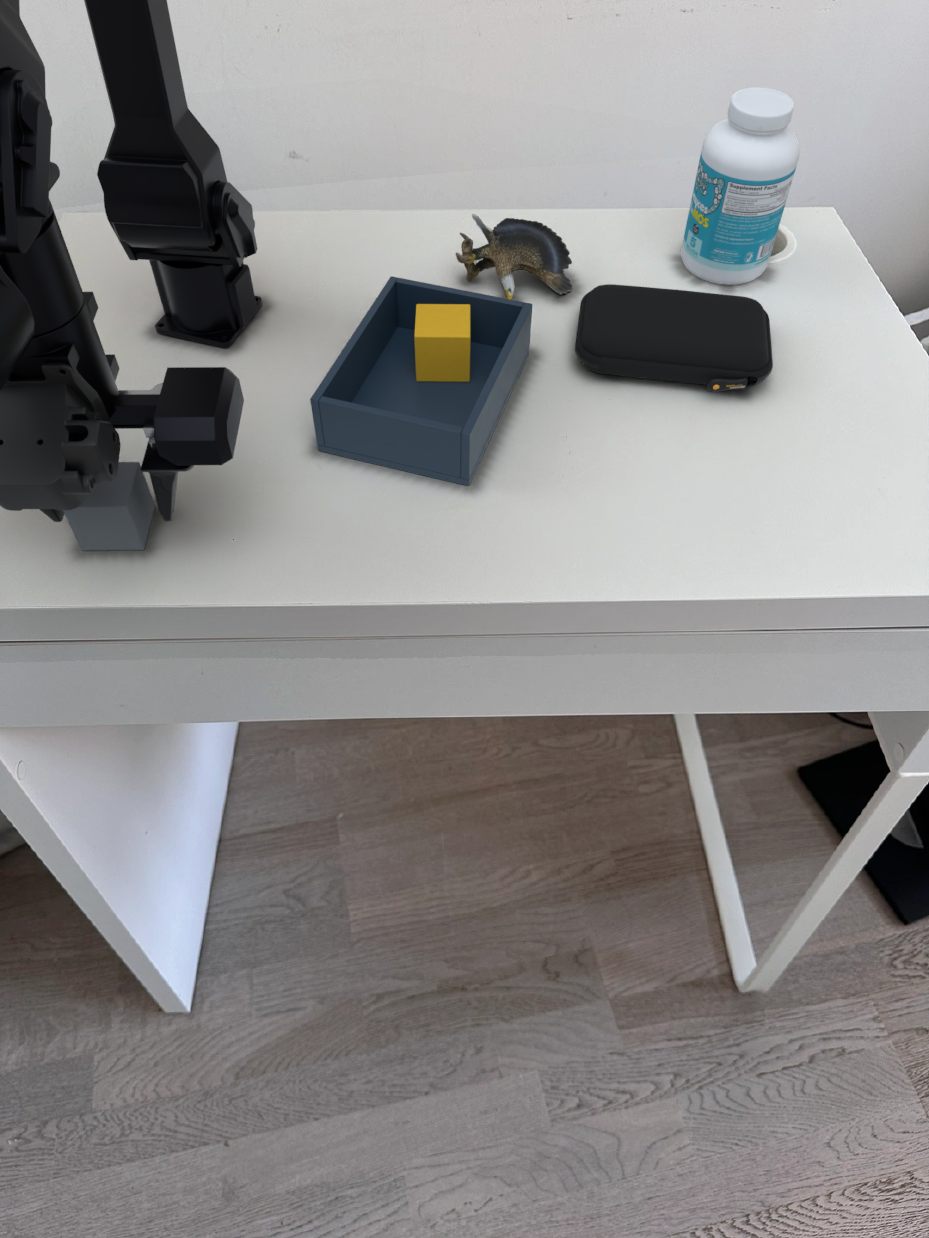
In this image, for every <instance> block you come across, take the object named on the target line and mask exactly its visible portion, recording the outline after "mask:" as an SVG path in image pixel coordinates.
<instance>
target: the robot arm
mask: <svg viewBox="0 0 929 1238" xmlns="http://www.w3.org/2000/svg"><path fill="white" fill-rule="evenodd" d="M83 1H84V6H85V10H86V14H87V17H88V21H89V26H90V30H91V33H92V37H93V41H94V45H95V49H96V54H97V57H98V62H99V66H100V70H101V73H102V77H103V82H104V85H105V90H106V93H107V98H108V101H109V105H110V109H111V113H112V117H113V122H114V127H113V130H112V134H111V135H110V138H109V142H108V145H107V148H106V151H105V155H104V157H103V159H102V160H100V161H99V164H98V168H97V172H96V175H97V178H98V181H99V185H100V186H101V189H102V193H103V206H104V212H105V215H106V219H107V221H108V223H109V225H110V227H111V229H112V230H113V233H114V234H115V236H116V238H117V239H118V242H119V243H120V245H121V247H122V249H123V250H124V253H125V254H126V256H127V258H128V260H130V261H139V260H141V261H149V264H150V268H151V272H152V275H153V278H154V281H155V286H156V288H157V293H158V296H159V299H160V303H161V306H162V311H163V315H162V316H161V318H159V320H158V321H157V322H156V323H155V324H154V329H155V331H156V333H158V334H161V335H165V336H170V337H174V338H179V339H184V340H188V341H194V342H197V343H201V344H205V345H206V344H207V345H211V346H216V347H220V348H228V347H231V345H232V344H233V343H234V342H235V340H236V339H237V338H238V337H239V335H241V333H242V332H243V330H244V329H245V328H246V326H247V325H248V323H249V322H250V321H251V320H252V319H253V317H254V316H255V315H256V313H257V312H258V311H259V309H260V308H261V307H262V306H263V300H262V297H261V296H259V295H255V290H254V284H253V280H252V274H251V270H250V269H251V268H250V266H249V265H248V264H246V263H244V260H245V259H247V258H248V257H250V256H253V255H255V254H257V251H258V244H257V237H256V234H255V228H256V221H255V219H254V212H253V211H254V209H253V205H252V204H251V203H250V201H249V200H248V199H247V198H245V197H244V196H243V194H242V193H240V191H239V190H238V189H237V188H236V187H235V186H234V185H233V184H232V183H231V182H229V181H228V178H227V174H226V170H225V166H224V161H223V156H222V152H221V149H220V147H219V145H218V144H217V142H216V141H215V140H214V139H213V138H212V136H211V135H210V134H209V133H208V131H207V130H206V129H205V128H204V126H203V125H202V124H201V123H200V121H199V120H198V119H197V118H196V117H195V115H194V113H192V111H191V110H190V109H189V106H188V101H187V99H186V92H185V87H184V82H183V78H182V77H183V76H182V73H181V72H182V71H181V67H180V61H179V56H178V51H177V47H176V41H175V36H174V31H173V25H172V21H171V15H170V10H169V4H168V0H83ZM20 7H21V6H20V0H0V508H2V509H4V510H5V511H6V510H7V511H10V512H20V511H22V510H39V511H41V512H42V514H44V515H46V516H47V517H48V518H49V519H50V520H51V521H53V522H54V523H61V522H63V519H64V516H65V514H64V511H63V510H72V509H75V508H77V507H79V506H80V505H81V504H82V503H83V502H84V501H85V499H86V497H87V494H93V493H94V492H95V488H96V485H97V484H99V483H102V482H113V481H114V480H115V479H116V478H117V473H118V463H119V462H120V453H121V438H120V434H119V432H118V431H117V430H118V429H119V430H122V429H124V430H125V429H126V430H127V429H128V430H129V429H130V430H131V429H139V430H140V429H143V432H144V435H145V438H147V439H148V440H147V444H146V448H145V452H144V454H143V459H142V462H141V471H142V472H143V473H148V474H149V478H150V482H151V485H152V489H153V493H154V497H155V501H156V504H157V508H158V510H159V513H160V514H161V516H162V519H163V520H164V521H165V522H172V520H173V514H174V510H175V503H176V496H177V495H176V494H177V488H178V487H177V486H178V480H179V479H178V478H179V473H183V472H188V471H190V470H192V469H194V467H195V466H223V465H224V464H226V463H228V462H229V461H232V460H233V459H234V454H235V449H236V444H237V438H238V434H239V429H240V425H241V424H240V423H241V419H242V413H243V408H244V403H245V399H244V394H243V389H242V386H241V382H240V381H241V380H240V378H238V376H237V375H236V374H235V373H234V372H233V371H232V370H231V369H229V368H227V367H225V366H204V367H202V366H200V367H199V366H197V367H195V366H194V367H192V366H190V367H188V366H187V367H186V366H185V367H184V366H183V367H182V366H181V367H171V366H170V367H166V371H165V374H164V378H163V382H160V383H157V384H156V385H154V386H153V387H152V388H151V389H122V390H121V389H118V386H117V383H116V382H117V377H118V375H119V372H120V366H119V362H118V360H117V357H116V354H106V351H105V349H104V347H103V344H102V341H101V338H100V335H99V333H98V330H97V327H96V323H95V322H94V320H95V318H96V315H97V313H98V310H99V306H98V302H97V299H96V297H95V294H94V291H83V288H82V286H81V283H80V280H79V277H78V274H77V271H76V269H75V265H74V263H73V260H72V258H71V257H72V256H71V254H70V251H69V249H68V246H67V243H66V241H65V237H64V235H63V232H62V229H61V227H60V224H59V222H58V221H59V220H58V218H57V215H56V213H55V210H54V208H53V203H52V201H51V200H50V192H51V190H52V188H53V187H54V185H55V184H56V183H57V182H58V180H59V179H60V175H61V170H60V168H59V166H58V164H57V163H55V162H53V161H51V149H52V148H51V147H52V127H53V117H52V115H51V112H50V109H49V106H48V102H47V98H46V97H47V96H46V95H47V94H46V68H45V65H44V61H43V60H42V58H41V56H40V54H39V51H38V50H37V48H36V46H35V44H34V42H33V40H32V37H31V36H30V34H29V32H28V30H27V28H26V26H25V25H24V22H23V21H22V19H21V13H20V12H21V11H20V9H21V8H20Z"/></svg>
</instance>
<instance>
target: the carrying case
mask: <svg viewBox="0 0 929 1238" xmlns="http://www.w3.org/2000/svg"><path fill="white" fill-rule="evenodd" d="M575 334H576V335H575V343H574V353H575V356H576V358H577V359H578V361H579V362H580V363H581V364H582V365H583V366H584V367H585V368H586V369H587V370H588V371H591V372H594V373H598V374H600V375H611V376H620V377H628V378H637V379H647V380H656V381H666V382H676V383H684V384H685V383H686V384H695V385H705V386H706V389H707V391H708V392H712V393H717V392H723V391H731V390H745V389H746V388H750V387H753V386H755V385H757V384H760V383H762V382H763V381H765V380H766V379H767V378H768V377H769V376H770V374H771V373H772V371H773V368H774V360H773V348H772V335H771V324H770V317H769V314H768V312H767V311H766V310H765V309H764V307H763V305H762V304H761V303H760V302H759V301H758V300H757V299H754V298H752V297H748V296H741V295H734V294H733V295H732V294H722V293H712V292H703V291H694V290H693V291H692V290H682V289H671V288H661V287H648V286H637V285H625V284H612V283H611V284H610V283H607V284H600V285H597V286H595V287H594V288H592V289H591V290H590V291H588V292H587V293H585V295H584V296H583V297H582V299H581V300H580V305H579V312H578V319H577V327H576V333H575Z"/></svg>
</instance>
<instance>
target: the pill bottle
mask: <svg viewBox="0 0 929 1238" xmlns="http://www.w3.org/2000/svg"><path fill="white" fill-rule="evenodd" d="M794 107H795V103H794V100H793V99H792V97H791V96H789V95H788V94H787V93H785V92H783V91H781V90H778V89H773V88H771V87H763V86H751V87H745V88H741V89H738V90H737V91H736V92H733V94H732V96H731V97H730V100H729V105H728V109H727V118H724V119H722V120H720V121H718V122H717V123H715V124H714V125H713V126H712V127H710V129H709V130H708V131H707V132H706V134H705V136H704V139H703V141H702V146H701V150H700V155H699V159H698V165H697V170H696V175H695V180H694V186H693V189H692V195H691V199H690V204H689V210H688V213H687V220H686V224H685V229H684V234H683V238H682V244H681V249H680V250H681V251H680V255H681V260H682V263H683V265H684V266H685V268H686V269H687V270H688V271H689V272H690V273H691V274H693V275H694V276H696V278H697V277H698V278H699V279H701V280H704V281H706V282H708V283H709V282H710V283H713V284H717V285H726V286H727V285H728V286H730V285H732V286H733V285H740V284H745V283H749V282H751V281H754V280H756V279H757V278H759V277H760V276H761V275H762V274H763V273H764V272H765V270H766V269H767V267H768V265H769V262H770V258H771V255H772V252H773V248H774V245H775V241H776V238H777V234H778V231H779V228H780V224H781V221H782V218H783V214H784V211H785V207H786V204H787V200H788V196H789V194H790V190H791V187H792V186H791V185H792V183H793V181H794V177H795V173H796V170H797V166H798V162H799V159H800V155H801V147H800V145H801V144H800V142H799V139H798V137H797V135H796V133H795V132H794V131H793V130H792V128H790V127H789V125H790V123H791V121H792V117H793V112H794V109H795V108H794Z"/></svg>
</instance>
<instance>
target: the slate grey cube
mask: <svg viewBox="0 0 929 1238" xmlns="http://www.w3.org/2000/svg"><path fill="white" fill-rule="evenodd" d="M141 466H142V464H141V463H140V461H119V463H118V473H117V478H116V479H115V480H114V481H113V482H102V483H99V484H97V485H96V488H95V492H94V493H93V494H87V497H86V499H85V501H84V502H83V503H82V504H81V505H80V506H79V507H77V508H75V509H72V510H63V511H64V516H65V518H66V520H67V522H68V524H69V526H70V528H71V530H72V533H73V535H74V537H75V539H76V541H77V543H78V545H79V547H80V549H81V551H144V550H145V548H146V543H147V539H148V535H149V532H150V527H151V523H152V521H153V520H152V519H153V516H154V512H155V508H156V504H155V502H154V498H153V496H152V493H151V490H150V487H149V485H148V482H147V479H146V476H145V473H144V472H142V471H141Z"/></svg>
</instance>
